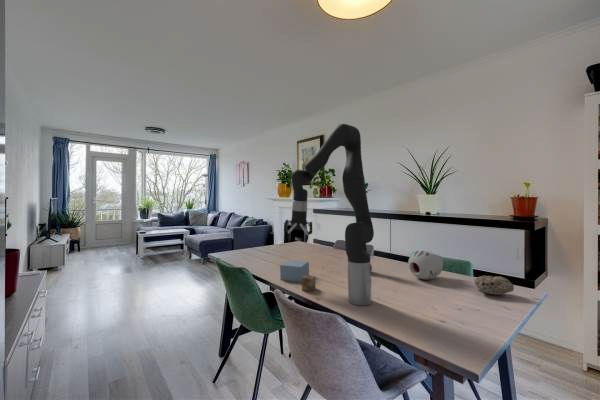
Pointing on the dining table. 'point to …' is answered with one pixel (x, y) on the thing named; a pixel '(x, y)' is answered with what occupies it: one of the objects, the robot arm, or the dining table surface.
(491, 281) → the pumice stone
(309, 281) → the walnut block
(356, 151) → the robot arm
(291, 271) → the slate-blue plinth
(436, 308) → the dining table surface
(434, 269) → the decorative object
